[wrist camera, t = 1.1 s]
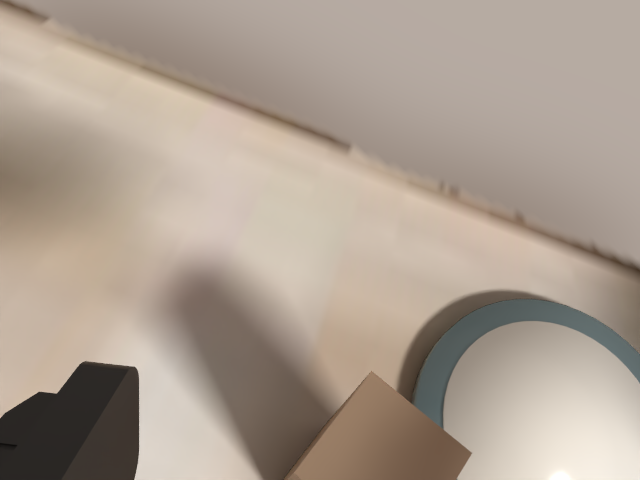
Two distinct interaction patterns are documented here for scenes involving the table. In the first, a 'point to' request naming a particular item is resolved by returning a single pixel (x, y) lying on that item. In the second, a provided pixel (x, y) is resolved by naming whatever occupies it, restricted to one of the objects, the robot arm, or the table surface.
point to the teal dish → (535, 394)
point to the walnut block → (380, 441)
